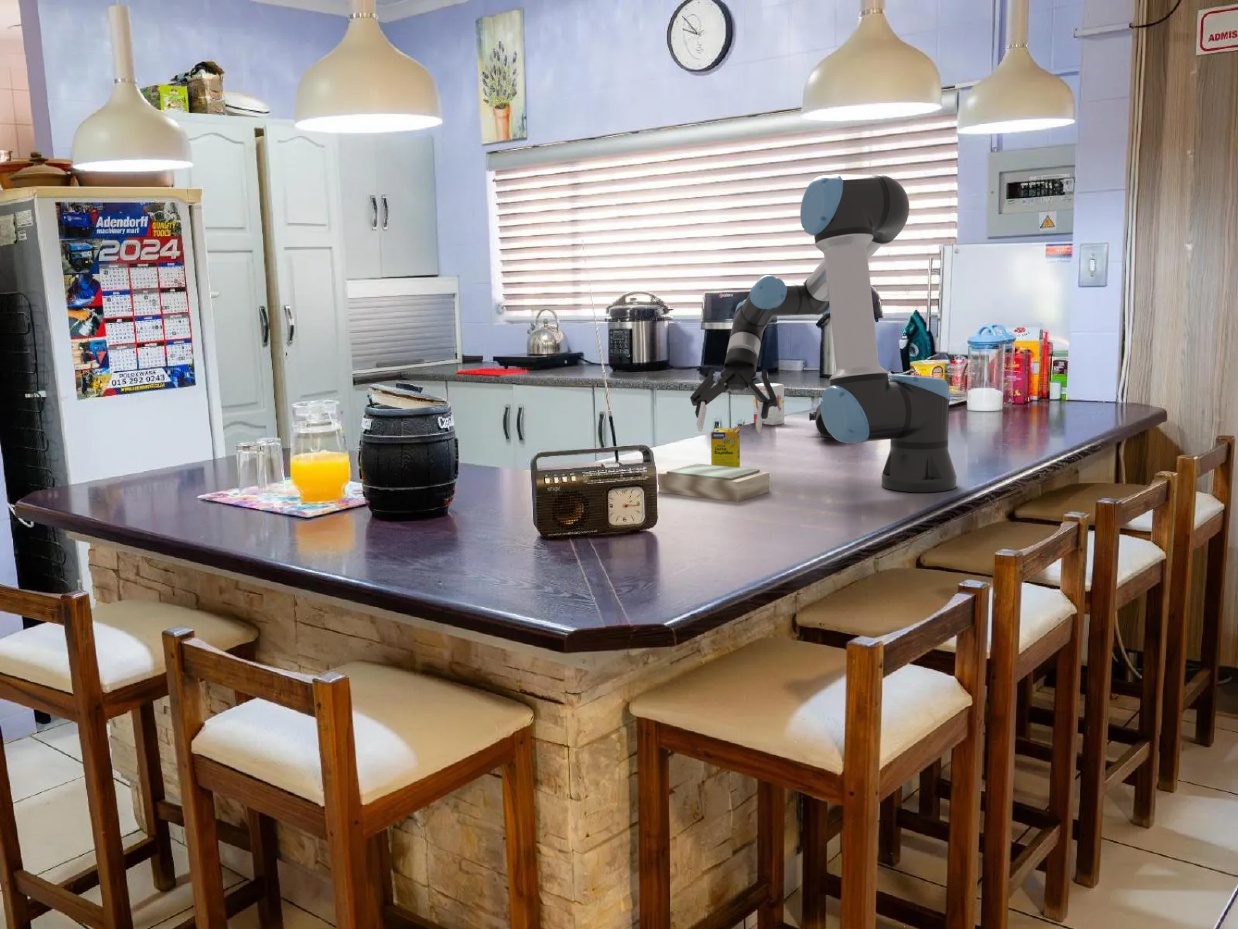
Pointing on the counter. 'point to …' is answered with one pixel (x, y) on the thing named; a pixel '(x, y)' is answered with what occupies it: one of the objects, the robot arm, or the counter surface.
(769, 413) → the ink box
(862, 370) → the robot arm
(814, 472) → the counter surface
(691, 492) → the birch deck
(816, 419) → the rifle scope
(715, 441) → the supplement box
